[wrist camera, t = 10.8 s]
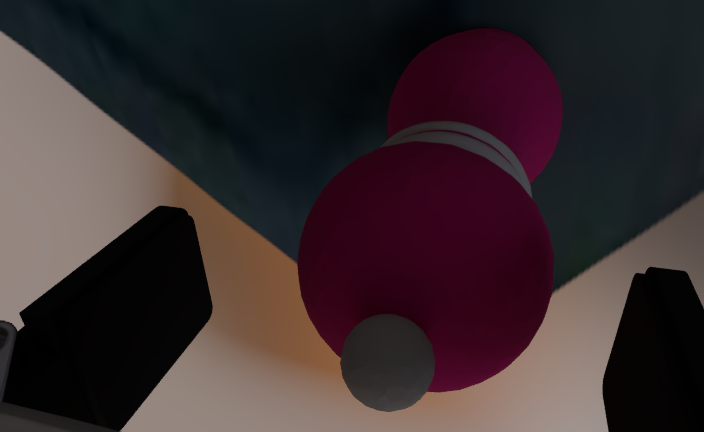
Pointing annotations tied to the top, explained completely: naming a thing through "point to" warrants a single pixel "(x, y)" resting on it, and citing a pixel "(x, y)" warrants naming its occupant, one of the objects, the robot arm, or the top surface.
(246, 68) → the top surface
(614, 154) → the top surface
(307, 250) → the pepper mill
